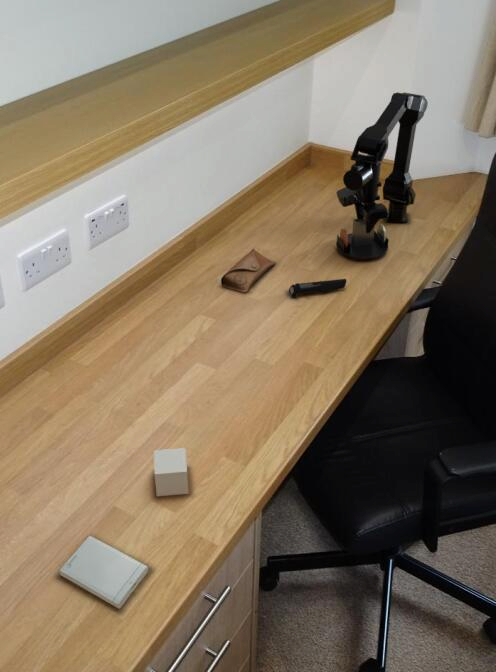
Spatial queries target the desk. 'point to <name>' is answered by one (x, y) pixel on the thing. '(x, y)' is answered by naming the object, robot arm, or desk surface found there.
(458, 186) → the desk surface
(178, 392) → the desk surface
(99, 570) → the hard drive
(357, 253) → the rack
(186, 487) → the light grey cube
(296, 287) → the electric trimmer
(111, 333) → the desk surface
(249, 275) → the sunglasses case
